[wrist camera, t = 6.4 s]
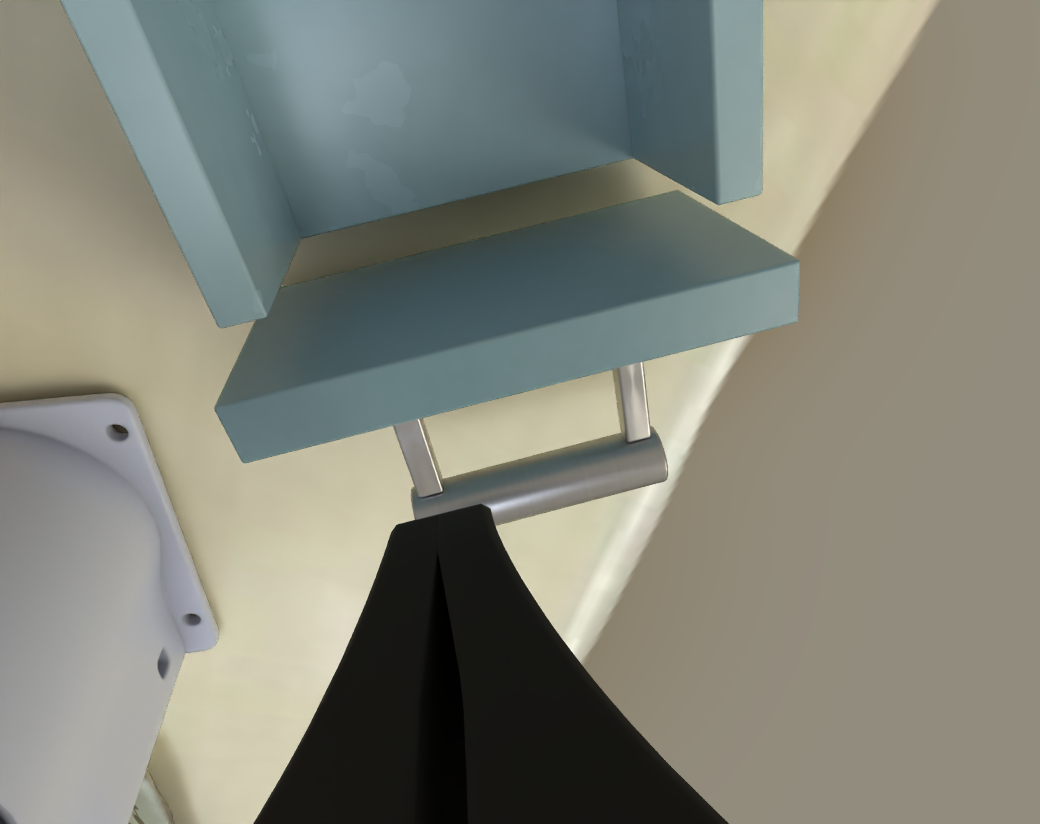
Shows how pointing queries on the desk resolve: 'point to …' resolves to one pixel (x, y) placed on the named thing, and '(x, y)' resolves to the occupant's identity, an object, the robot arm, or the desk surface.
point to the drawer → (444, 179)
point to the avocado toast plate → (150, 805)
